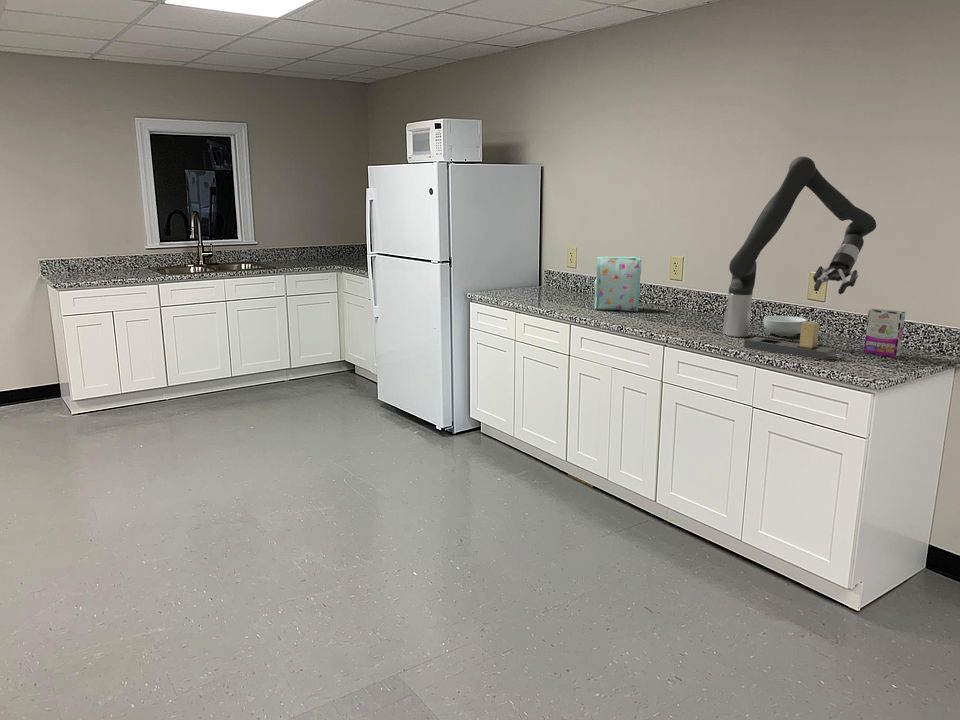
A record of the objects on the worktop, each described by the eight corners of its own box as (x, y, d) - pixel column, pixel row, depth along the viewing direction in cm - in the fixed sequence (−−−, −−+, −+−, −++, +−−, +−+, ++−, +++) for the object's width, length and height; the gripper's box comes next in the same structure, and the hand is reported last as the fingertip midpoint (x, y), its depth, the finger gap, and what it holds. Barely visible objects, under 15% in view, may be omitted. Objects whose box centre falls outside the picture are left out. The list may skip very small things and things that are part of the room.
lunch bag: (637, 307, 380) (641, 255, 374) (640, 312, 364) (643, 257, 358) (593, 306, 383) (595, 253, 377) (593, 310, 367) (595, 256, 362)
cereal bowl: (770, 330, 319) (771, 314, 318) (810, 335, 309) (812, 318, 307) (756, 335, 306) (757, 318, 305) (797, 340, 296) (799, 323, 295)
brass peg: (798, 355, 267) (801, 322, 264) (803, 353, 270) (807, 321, 267) (810, 357, 263) (814, 324, 261) (815, 355, 266) (819, 322, 264)
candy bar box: (900, 356, 268) (906, 311, 265) (895, 358, 265) (902, 312, 261) (867, 351, 276) (873, 308, 273) (862, 353, 273) (868, 309, 269)
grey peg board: (743, 347, 279) (744, 339, 278) (755, 344, 285) (755, 337, 284) (824, 360, 258) (825, 352, 257) (834, 357, 264) (835, 349, 263)
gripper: (823, 250, 277) (806, 282, 272) (863, 253, 267) (846, 287, 262) (827, 263, 282) (810, 295, 277) (866, 267, 272) (849, 300, 267)
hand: (827, 291), depth 270 cm, fingers open, 8 cm apart
